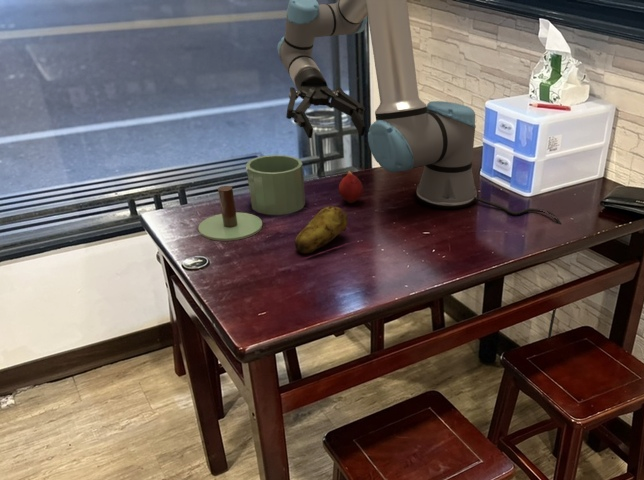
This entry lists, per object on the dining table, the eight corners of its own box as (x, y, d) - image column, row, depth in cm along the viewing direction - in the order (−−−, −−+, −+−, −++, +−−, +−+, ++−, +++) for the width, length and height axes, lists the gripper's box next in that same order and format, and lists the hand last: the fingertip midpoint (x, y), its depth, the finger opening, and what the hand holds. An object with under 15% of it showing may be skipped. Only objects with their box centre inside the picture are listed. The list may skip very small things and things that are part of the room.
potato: (285, 245, 131) (282, 210, 127) (340, 232, 137) (338, 198, 133) (301, 261, 125) (298, 225, 121) (357, 247, 131) (356, 212, 127)
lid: (274, 232, 136) (269, 190, 131) (217, 249, 128) (209, 206, 123) (244, 212, 144) (238, 172, 139) (188, 227, 137) (180, 186, 131)
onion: (365, 199, 153) (364, 168, 149) (360, 208, 149) (360, 176, 144) (342, 197, 154) (340, 166, 149) (337, 206, 149) (335, 174, 145)
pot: (315, 208, 148) (312, 165, 142) (269, 221, 141) (264, 177, 135) (287, 192, 155) (283, 151, 150) (242, 204, 148) (236, 162, 142)
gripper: (350, 92, 167) (380, 142, 157) (259, 93, 156) (285, 147, 146) (355, 67, 162) (387, 117, 152) (262, 66, 150) (289, 120, 140)
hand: (337, 132), depth 149 cm, fingers open, 13 cm apart
